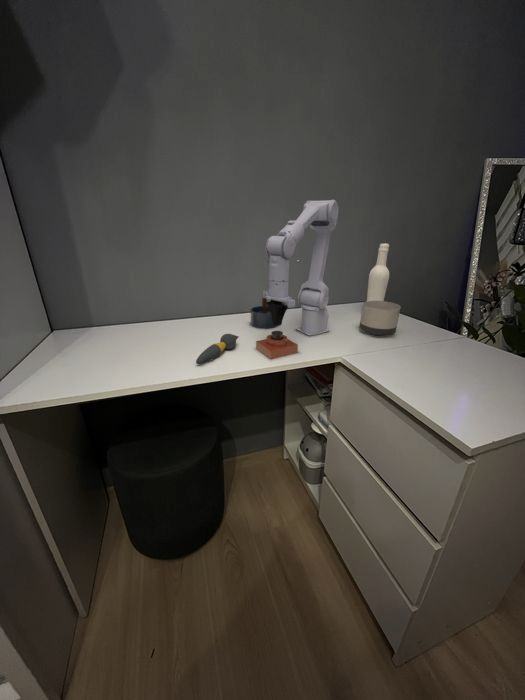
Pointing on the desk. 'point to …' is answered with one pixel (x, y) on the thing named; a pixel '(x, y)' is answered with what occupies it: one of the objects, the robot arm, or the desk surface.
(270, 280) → the robot arm
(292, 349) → the knobbed square stamp
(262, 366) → the desk surface
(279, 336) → the pump button
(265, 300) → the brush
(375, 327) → the planter
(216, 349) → the paintbrush
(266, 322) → the dark blue round bowl
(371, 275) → the bottle
